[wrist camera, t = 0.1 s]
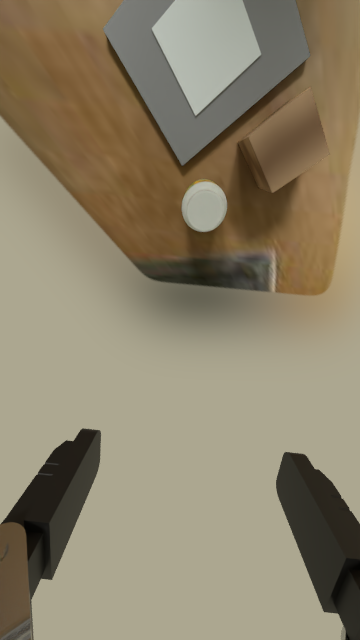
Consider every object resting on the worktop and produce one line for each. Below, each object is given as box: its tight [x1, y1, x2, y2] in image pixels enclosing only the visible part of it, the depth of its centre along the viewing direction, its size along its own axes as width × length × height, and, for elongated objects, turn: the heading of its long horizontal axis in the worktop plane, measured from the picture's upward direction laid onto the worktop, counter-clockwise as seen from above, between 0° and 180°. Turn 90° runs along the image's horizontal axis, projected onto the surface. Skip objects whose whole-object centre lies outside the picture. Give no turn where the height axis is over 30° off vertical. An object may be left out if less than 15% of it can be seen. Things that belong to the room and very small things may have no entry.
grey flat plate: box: [103, 0, 310, 166], centre depth 23 cm, size 14×16×1 cm
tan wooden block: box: [238, 87, 330, 193], centre depth 25 cm, size 6×6×7 cm
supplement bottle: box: [182, 179, 227, 232], centre depth 28 cm, size 5×5×10 cm
